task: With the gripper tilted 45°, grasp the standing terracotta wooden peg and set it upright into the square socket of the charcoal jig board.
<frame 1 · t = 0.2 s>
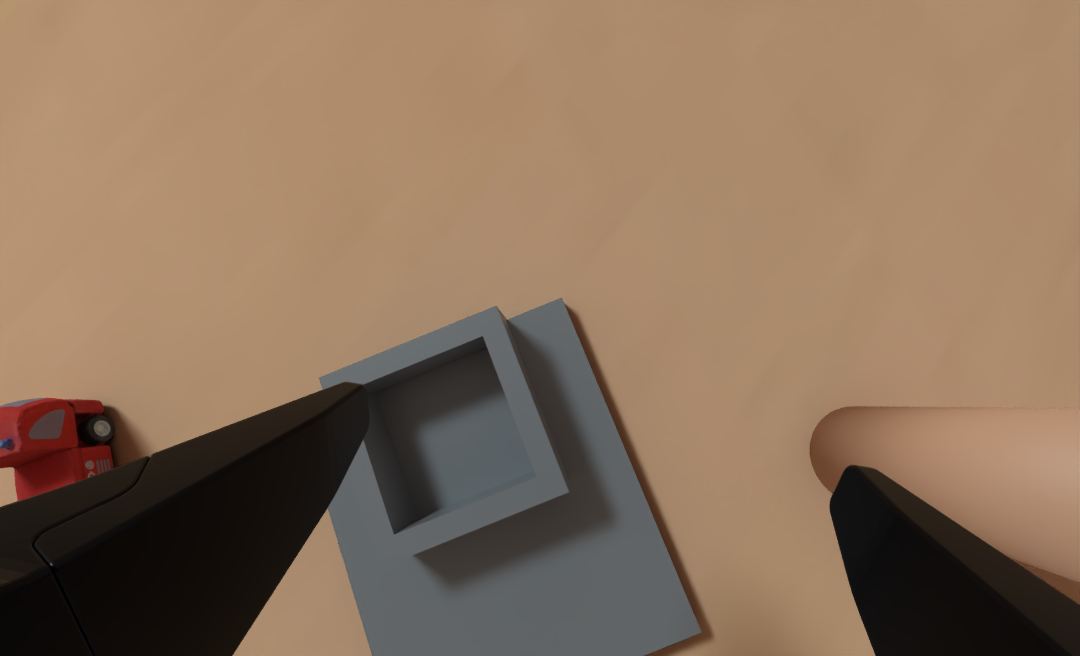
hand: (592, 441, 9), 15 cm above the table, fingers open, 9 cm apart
jig cradle: (461, 428, 24), on the table
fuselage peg: (858, 454, 22), on the table
toy fire truck: (105, 530, 25), on the table
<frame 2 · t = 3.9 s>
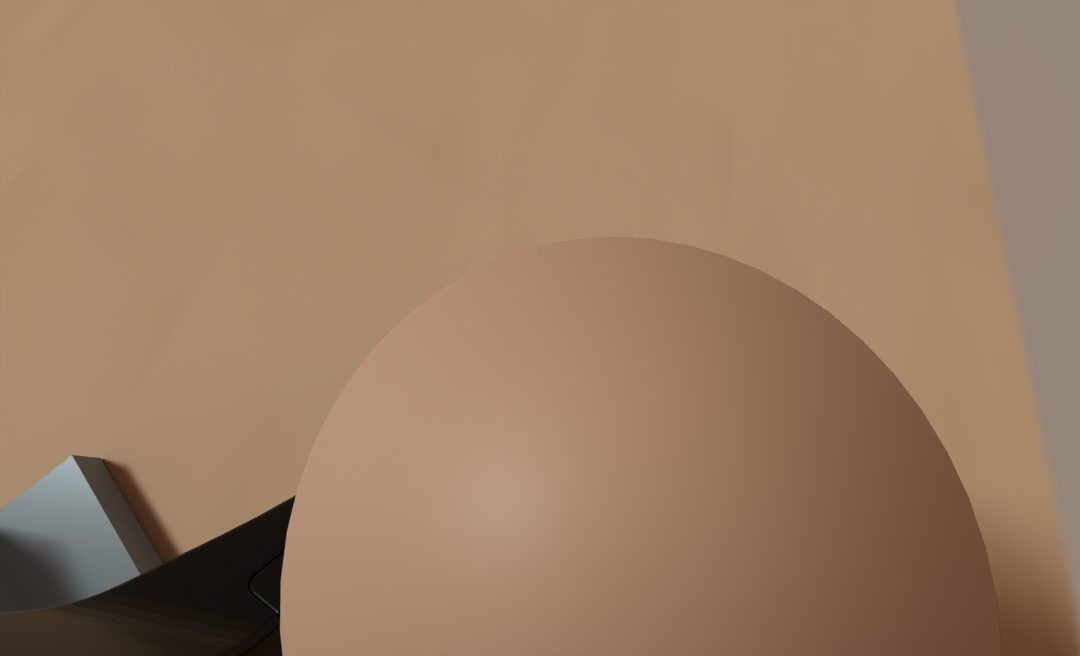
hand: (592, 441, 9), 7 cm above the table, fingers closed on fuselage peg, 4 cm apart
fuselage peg: (572, 514, 15), on the table, touching gripper
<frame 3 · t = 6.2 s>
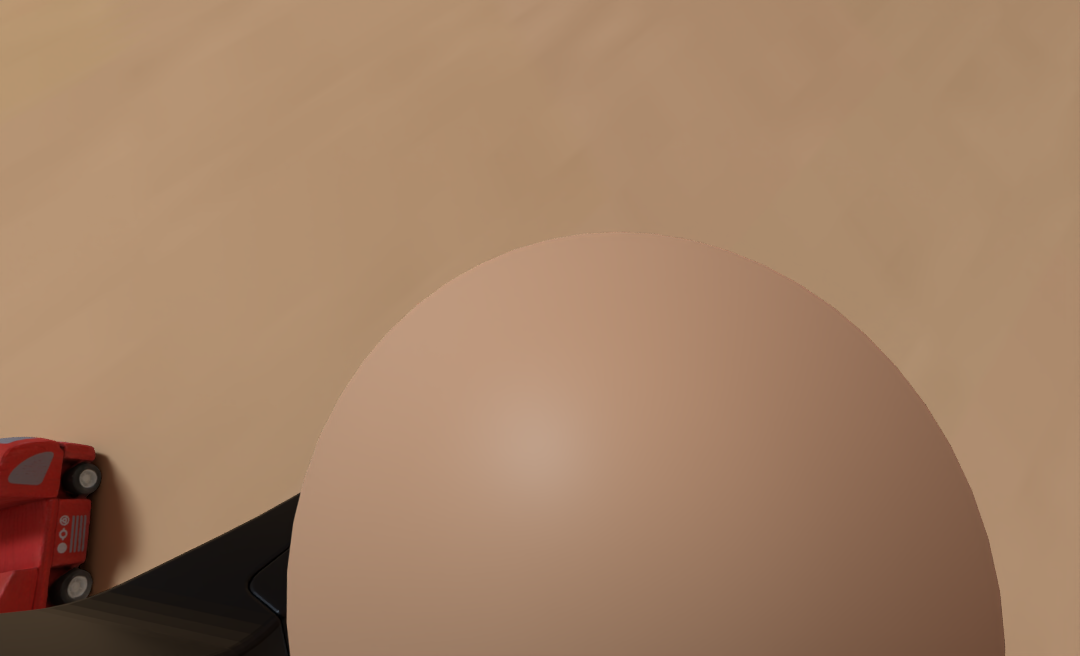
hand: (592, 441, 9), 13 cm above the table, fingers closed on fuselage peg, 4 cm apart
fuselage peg: (573, 512, 15), point 7 cm above the table, touching gripper
toy fire truck: (59, 602, 21), on the table
when the fingers open (9 cm above the table, at t = 7.9 s): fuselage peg drops 1 cm, resting on jig cradle.
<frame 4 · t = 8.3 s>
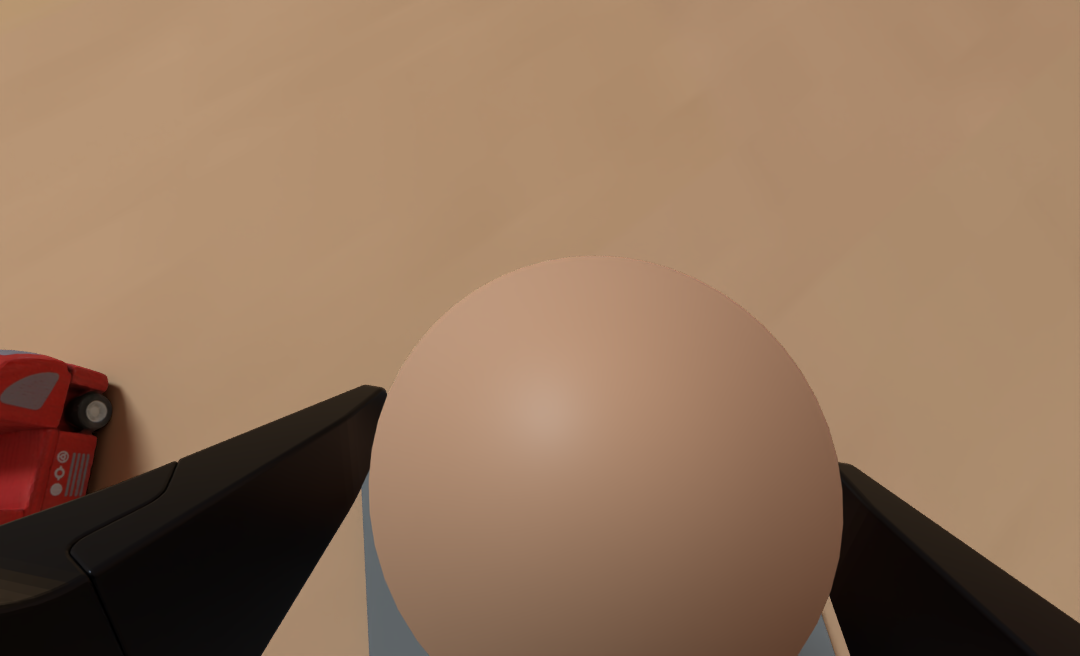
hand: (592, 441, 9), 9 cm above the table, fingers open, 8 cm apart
jig cradle: (571, 513, 17), on the table
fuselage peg: (571, 513, 16), point 1 cm above the table, touching jig cradle
toy fire truck: (47, 554, 17), on the table
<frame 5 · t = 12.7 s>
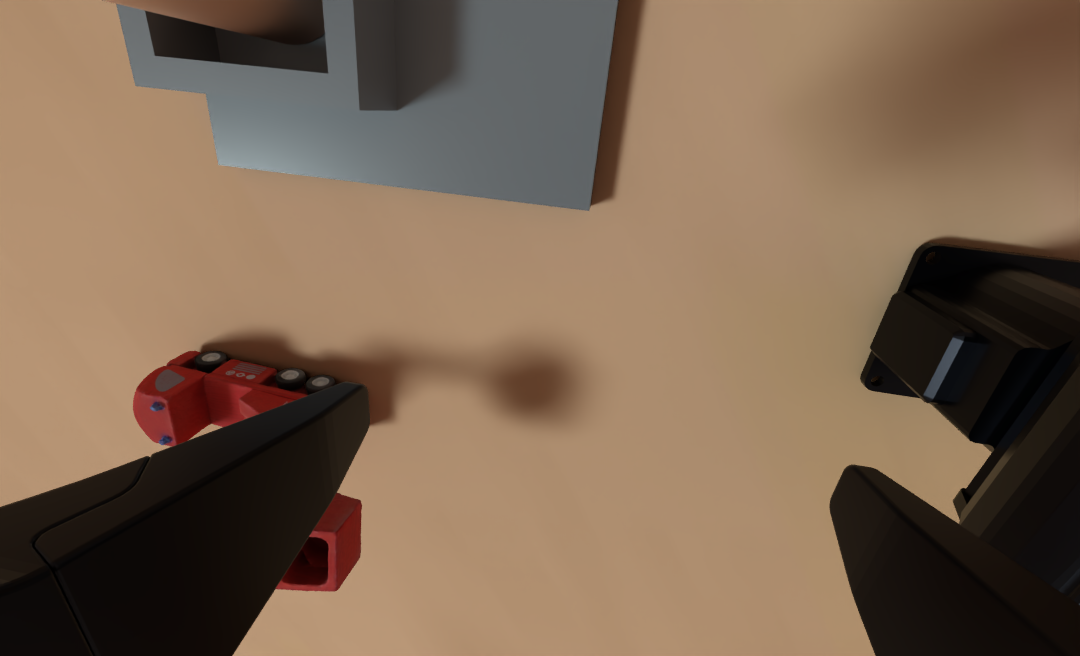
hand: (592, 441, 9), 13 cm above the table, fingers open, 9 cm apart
toy fire truck: (309, 392, 27), on the table
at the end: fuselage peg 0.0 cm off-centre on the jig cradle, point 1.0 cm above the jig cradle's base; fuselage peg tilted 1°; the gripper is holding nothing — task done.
